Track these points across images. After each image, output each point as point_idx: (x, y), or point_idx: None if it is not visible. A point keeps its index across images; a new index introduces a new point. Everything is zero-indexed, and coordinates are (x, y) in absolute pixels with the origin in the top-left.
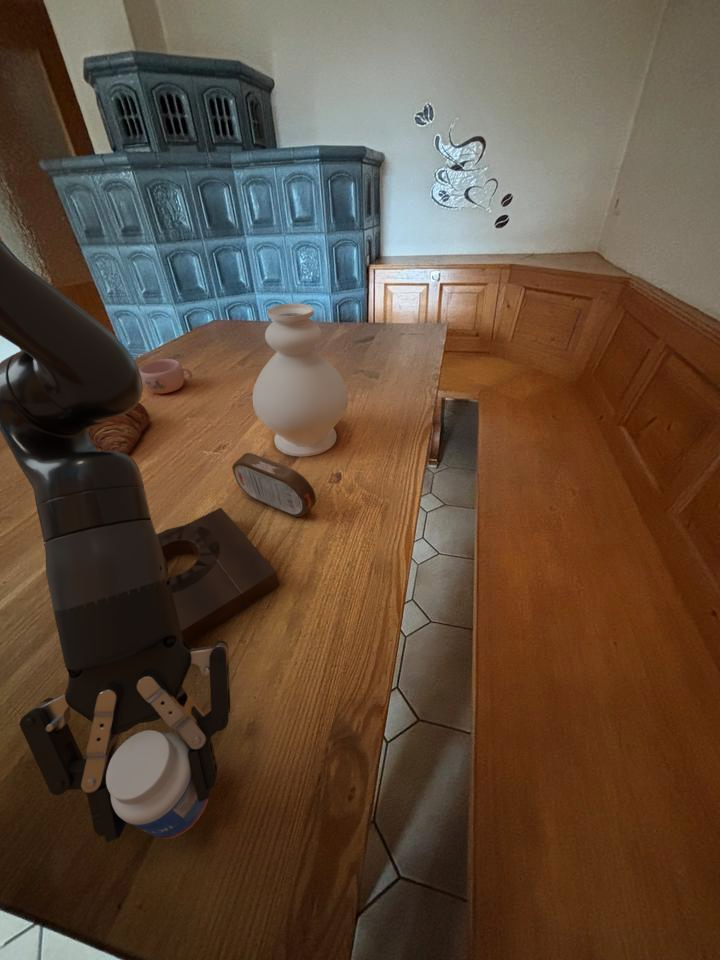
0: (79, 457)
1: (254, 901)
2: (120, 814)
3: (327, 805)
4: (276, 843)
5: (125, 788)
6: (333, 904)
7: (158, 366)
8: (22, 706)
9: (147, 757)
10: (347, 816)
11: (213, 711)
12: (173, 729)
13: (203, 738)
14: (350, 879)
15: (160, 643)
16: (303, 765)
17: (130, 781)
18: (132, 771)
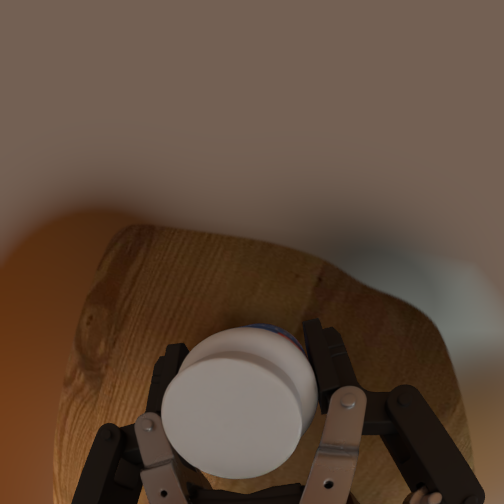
0: None
1: (179, 260)
2: (283, 344)
3: (109, 317)
4: (156, 299)
5: (242, 381)
6: (115, 246)
7: None
8: (461, 450)
9: (208, 429)
10: (95, 303)
11: (108, 456)
12: (170, 461)
13: (137, 424)
14: (101, 259)
15: None
16: (128, 360)
17: (234, 393)
18: (237, 411)
